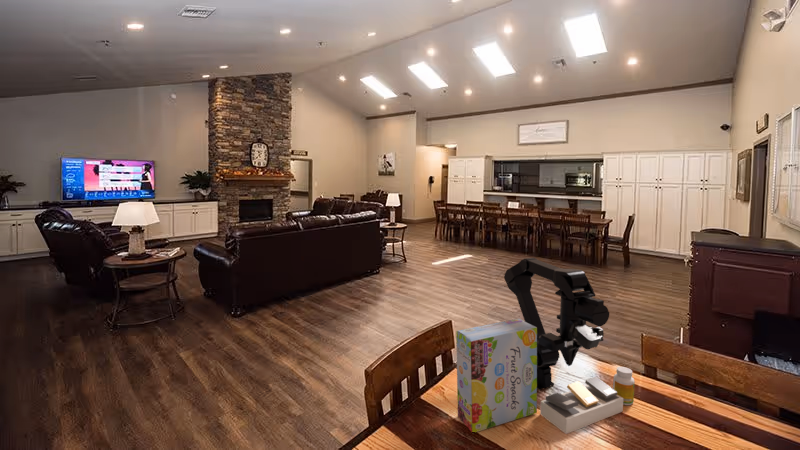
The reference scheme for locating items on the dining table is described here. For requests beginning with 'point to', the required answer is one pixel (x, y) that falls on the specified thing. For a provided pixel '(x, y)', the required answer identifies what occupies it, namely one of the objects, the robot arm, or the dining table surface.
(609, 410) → the rocker switch box
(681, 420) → the dining table surface
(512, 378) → the snack box
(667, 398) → the dining table surface
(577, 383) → the rocker middle
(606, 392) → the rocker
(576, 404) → the block
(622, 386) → the supplement bottle
